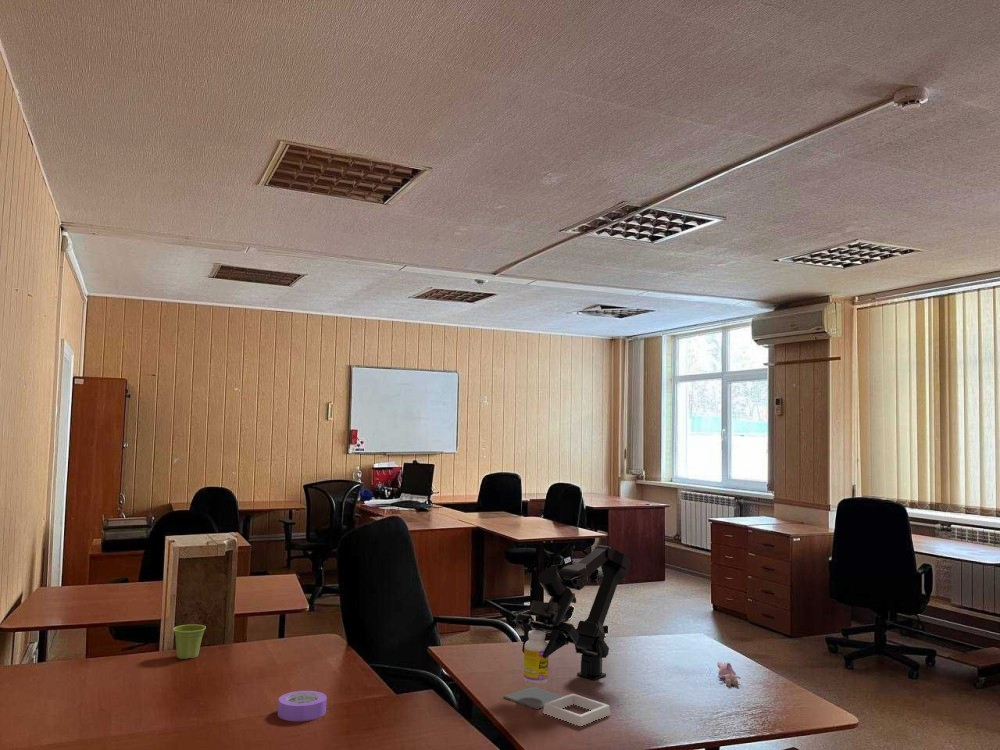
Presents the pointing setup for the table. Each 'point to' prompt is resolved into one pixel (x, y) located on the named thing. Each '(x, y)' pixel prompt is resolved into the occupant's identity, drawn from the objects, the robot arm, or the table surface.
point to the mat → (533, 697)
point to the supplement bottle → (535, 658)
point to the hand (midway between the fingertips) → (533, 654)
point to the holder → (596, 713)
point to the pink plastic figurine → (728, 674)
